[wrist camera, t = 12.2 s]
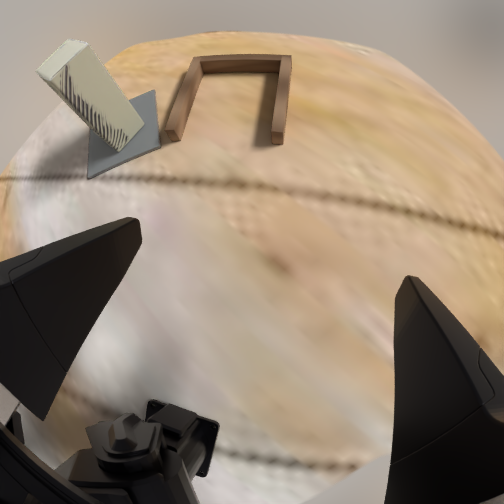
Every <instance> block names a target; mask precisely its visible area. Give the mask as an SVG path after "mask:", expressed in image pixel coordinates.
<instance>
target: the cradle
mask: <svg viewBox="0 0 504 504" xmlns="http://www.w3.org/2000/svg"><path fill="white" fill-rule="evenodd" d="M291 69H292V61H291V56H290V55H270V54H233V55H212V56H200V57H193V60H192V62H191V64H190V66H189V69H188V71H187V73H186V76H185V78H184V80H183V83H182V85H181V88H180V90H179V93H178V95H177V98H176V100H175V103H174V105H173V108H172V111H171V113H170V116H169V119H168V122H167V124H166V127H165V131H166V133H167V134H168V136H169V137H170V139H171V140H172V141H181V138H182V135H183V132H184V129H185V125H186V122H187V119H188V116H189V113H190V110H191V107H192V104H193V101H194V99H195V96H196V93H197V90H198V87H199V85H200V82H201V79H202V77H203V74H204V73H214V72H275V73H279V80H278V87H277V94H276V101H275V108H274V115H273V121H272V128H271V135H272V144H283V142H284V133H285V125H286V116H287V107H288V98H289V88H290V79H291Z"/></svg>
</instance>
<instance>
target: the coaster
mask: <svg viewBox="0 0 504 504" xmlns="http://www.w3.org/2000/svg"><path fill="white" fill-rule="evenodd" d="M129 102H130V103H131V105H132V106H133V107H134V109H135V110H136V112H137V113H138V114H139V116H140V117H141V119H142V120H143V122H144V123H145V124H144V125H143V127H142V128H141V129H140V130H139V131H138V132H137V133H136V134H135V135H134V136H133V138H132V139H131V140H130V141H129V142H128V143H127V144H126V145H125V146H124V147H123V148H122V149H121V151H120V152H118V151H116V150H115V149H114V148H112V147H111V146H109V145H108V144H107V143H106V142H105V141H103V140H102V139H101V138H100V137H99V136H98V135H97V134H96V133H95V132H94V131H93V130H92V129H91V128H90V138H89V154H88V178H89V179H91V178H93V177H95V176H97V175H99V174H101V173H103V172H105V171H108V170H110V169H112V168H114V167H116V166H118V165H121V164H123V163H125V162H127V161H130V160H132V159H134V158H137V157H139V156H142V155H144V154H147V153H149V152H151V151H154V150H157V149H159V148H161V144H160V135H159V125H158V115H157V104H156V92H155V90H151V91H149V92H147V93H144V94H142V95H140V96H137V97H135V98H133V99H131V100H129Z"/></svg>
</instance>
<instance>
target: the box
mask: <svg viewBox="0 0 504 504" xmlns="http://www.w3.org/2000/svg"><path fill="white" fill-rule="evenodd" d="M36 73H37V74H38V75H39V76H40V77H41V78H42V79H43V80H44V81H45V82H46V83H47V84H48V85H49V86H50V87H51V88H52V89H53V90H54V91H55V92H56V93H57V94H58V95H59V96H60V98H62V100H63V101H64V102H65V103H66V104H67V105H68V106H69V107H70V108H71V109H72V110H73V111H74V112H75V113H76V114H77V115H78V116H79V117H80V118H81V119H82V120H83V121H84V122H85V123H86V124H87V125H88V126H89V127H90V128H91V129H92V130H93V131H94V132H95V133H96V134H97V135H98V136H99V137H100V138H101V139H102V140H103V141H105V142H106V143H107V144H108V145H109V146H111V147H112V148H114V149H115V150H116V151H118V152H120V151H121V149H122V148H123V147H124V146H125V145H126V144H127V143H128V142H129V141H130V140H131V139H132V138H133V136H134V135H135V134H136V133H137V132H138V131H139V130H140V129H141V128H142V127H143V125H144V124H145V123H144V122H143V120H142V119H141V117H140V116H139V114H138V113H137V112H136V110H135V109H134V107H133V106H132V105H131V103H130V102H129V100H128V99H127V98H126V96H125V95H124V93H123V92H122V90H121V89H120V87H119V86H118V85H117V83H116V82H115V80H114V79H113V78H112V76H111V75H110V73H109V72H108V70H107V69H106V68H105V66H104V65H103V63H102V62H101V60H100V59H99V57H98V56H97V55H96V54H95V52H94V50H93V49H92V48H91V46H90V45H89V44H88V43H86V42H83V41H79V40H73V39H68V40H67V41H65V42H64V43H63V44H62V45H61V46H60V47H59V48H58V49H57V50H56V51H55V52H54V53H53V54H52V55H51V56H50V57H49V58H48V59H47V60H46V61H45V62H44V63H43V64H42V65H41V66H40V67H39V68H38V69H37V70H36Z"/></svg>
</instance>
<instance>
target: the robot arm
mask: <svg viewBox="0 0 504 504" xmlns="http://www.w3.org/2000/svg"><path fill="white" fill-rule="evenodd" d="M141 244H142V235H141V228H140V222H139V220H138V219H137V218H132V217H126V218H123V219H120V220H117V221H114V222H110V223H107V224H104V225H101V226H98V227H95V228H92V229H89V230H86V231H83V232H81V233H78V234H75V235H72V236H69V237H66V238H64V239H61V240H58V241H55V242H53V243H50V244H47V245H45V246H44V247H43V246H42V247H40V248H37V249H34V250H32V251H29V252H26V253H24V254H21V255H18V256H16V257H13V258H10V259H7V260H4V261H2V262H0V504H200V503H199V500H198V498H197V496H196V493H195V491H194V488H193V486H192V483H191V481H192V479H193V478H194V476H195V475H196V476H199V477H206V476H207V474H208V471H209V467H210V463H211V459H212V455H213V451H214V447H215V444H216V440H217V436H218V432H219V428H220V425H219V423H218V422H216V421H214V420H211V419H207V418H204V417H201V416H198V415H197V414H196V413H195V412H192V411H189V410H186V409H183V408H180V407H177V406H175V405H172V404H168V405H167V404H165V403H162V402H160V401H157V400H154V399H153V400H150V401H149V402H148V405H147V411H146V418H145V423H144V420H141V419H140V418H139V417H137V416H136V415H135V414H134V413H126V414H124V415H122V416H120V417H119V418H117V419H116V420H115V421H101V422H98V424H96V425H93V426H89V427H87V428H86V432H87V435H88V437H89V440H90V443H91V445H92V448H91V449H83V450H79V451H77V452H76V453H75V454H74V455H73V456H71V457H70V458H69V459H68V460H67V461H65V462H64V463H63V464H62V465H60V466H59V467H58V468H57V469H55V470H53V469H52V468H50V467H49V466H48V465H47V464H45V463H44V462H43V461H42V460H40V459H39V458H38V457H37V456H36V455H35V454H33V453H32V452H31V451H30V450H29V449H28V448H27V447H26V446H25V445H24V437H23V431H22V424H21V416H20V414H19V413H18V412H17V411H16V409H17V408H18V406H19V405H20V403H22V404H23V405H24V406H25V407H26V408H27V409H29V410H30V411H31V412H32V413H33V414H34V415H36V416H37V417H38V418H39V419H41V420H42V421H44V419H45V418H46V416H47V413H48V411H49V409H50V407H51V405H52V403H53V400H54V398H55V396H56V394H57V392H58V390H59V388H60V386H61V384H62V382H63V380H64V378H65V376H66V374H67V373H66V372H68V370H69V368H70V366H71V364H72V363H73V361H74V359H75V357H76V355H77V353H78V352H79V350H80V348H81V346H82V344H83V343H84V341H85V339H86V337H87V336H88V334H89V332H90V330H91V329H92V327H93V325H94V324H95V322H96V320H97V319H98V317H99V315H100V314H101V312H102V311H103V309H104V307H105V306H106V304H107V303H108V301H109V299H110V298H111V296H112V295H113V293H114V292H115V290H116V288H117V287H118V285H119V284H120V282H121V281H122V279H123V277H124V276H125V274H126V272H127V270H128V268H129V266H130V264H131V263H132V261H133V259H134V257H135V255H136V253H137V252H138V250H139V248H140V246H141ZM394 368H395V402H394V427H393V441H392V452H391V463H390V464H391V465H390V469H389V476H388V484H387V490H386V496H385V501H384V504H504V375H503V374H502V373H501V372H500V371H499V369H498V368H497V367H496V366H495V365H494V363H493V362H492V361H491V360H490V358H489V357H488V356H487V355H486V353H485V352H484V351H483V349H482V348H480V346H479V345H478V343H477V342H476V341H475V340H474V338H473V337H472V336H471V335H470V334H469V332H468V331H467V330H466V329H465V328H464V327H463V325H462V324H461V323H460V322H459V321H458V320H457V318H456V317H455V316H454V315H453V314H452V313H451V312H450V311H449V310H448V308H447V307H446V306H445V305H444V304H443V303H442V302H441V301H440V300H439V299H438V298H437V296H436V295H435V294H434V293H433V292H432V291H431V290H430V289H429V288H428V287H427V286H426V285H425V284H424V283H423V282H422V281H421V280H420V279H419V278H418V277H414V276H410V275H408V276H406V277H405V278H404V280H403V282H402V284H401V286H400V288H399V290H398V292H397V294H396V297H395V317H394ZM152 403H153V404H155V407H154V406H153V405H152ZM211 425H214V426H215V427H216V428H212V427H211ZM200 471H202V472H204V473H201V472H200Z"/></svg>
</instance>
